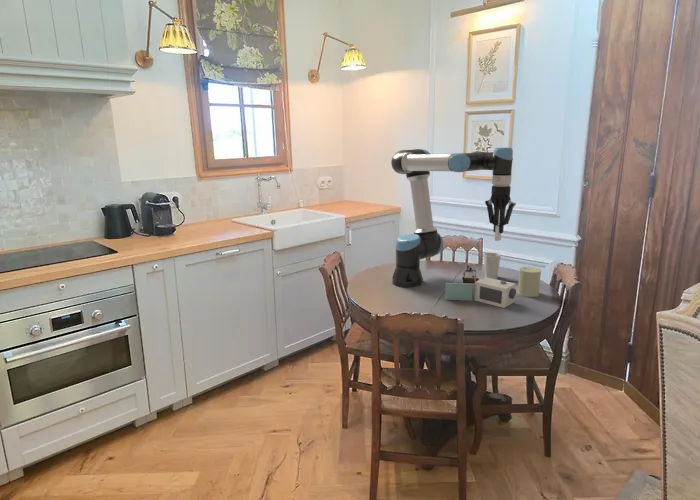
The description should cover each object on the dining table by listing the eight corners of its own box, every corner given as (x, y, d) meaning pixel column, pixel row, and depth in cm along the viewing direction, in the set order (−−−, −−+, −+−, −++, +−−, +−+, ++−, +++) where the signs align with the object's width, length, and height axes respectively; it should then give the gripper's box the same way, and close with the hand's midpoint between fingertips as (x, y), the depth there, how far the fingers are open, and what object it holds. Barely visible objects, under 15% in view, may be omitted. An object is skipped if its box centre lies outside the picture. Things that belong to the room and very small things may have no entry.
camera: (478, 293, 210) (479, 272, 208) (461, 291, 213) (462, 271, 210) (479, 283, 224) (480, 263, 222) (463, 281, 226) (464, 262, 224)
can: (523, 288, 214) (525, 264, 211) (542, 293, 208) (544, 268, 205) (513, 293, 208) (515, 268, 205) (533, 298, 202) (535, 272, 199)
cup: (501, 276, 233) (502, 253, 230) (496, 280, 226) (498, 257, 223) (485, 274, 237) (486, 251, 234) (480, 278, 231) (482, 255, 228)
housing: (474, 300, 201) (475, 280, 199) (484, 294, 207) (485, 275, 205) (506, 308, 191) (508, 287, 189) (516, 302, 197) (517, 282, 195)
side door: (473, 299, 202) (474, 282, 200) (474, 300, 200) (475, 284, 198) (445, 297, 204) (445, 281, 202) (445, 299, 202) (445, 283, 200)
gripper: (482, 185, 193) (479, 239, 199) (512, 187, 184) (508, 244, 190) (491, 183, 198) (488, 236, 204) (520, 185, 189) (516, 240, 195)
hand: (497, 240), depth 197 cm, fingers closed
